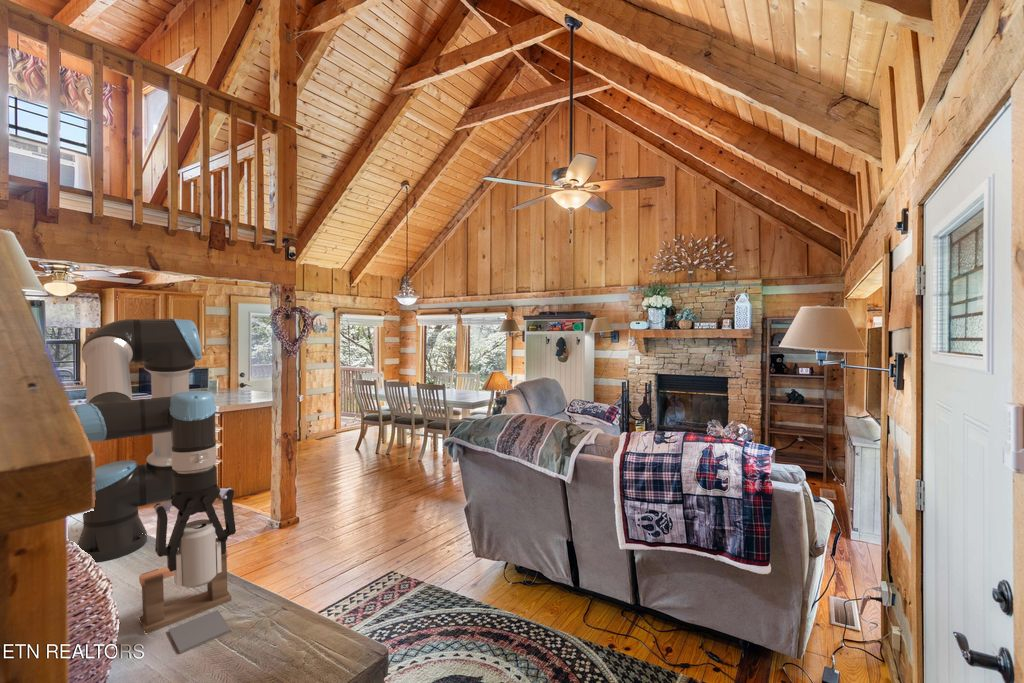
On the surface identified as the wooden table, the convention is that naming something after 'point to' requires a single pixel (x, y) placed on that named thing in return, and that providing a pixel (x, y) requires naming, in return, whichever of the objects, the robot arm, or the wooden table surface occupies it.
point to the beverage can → (198, 553)
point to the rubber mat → (199, 631)
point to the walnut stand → (164, 616)
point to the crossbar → (162, 571)
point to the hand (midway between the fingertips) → (198, 576)
